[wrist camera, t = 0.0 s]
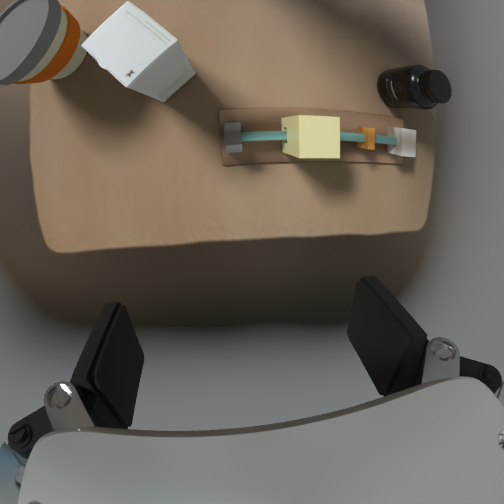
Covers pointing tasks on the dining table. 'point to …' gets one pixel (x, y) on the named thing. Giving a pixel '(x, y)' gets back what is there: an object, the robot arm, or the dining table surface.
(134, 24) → the skincare box
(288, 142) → the pale yellow block
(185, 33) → the dining table surface
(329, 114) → the cable board
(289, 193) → the dining table surface
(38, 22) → the reusable coffee cup
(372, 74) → the dining table surface
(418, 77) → the supplement bottle
